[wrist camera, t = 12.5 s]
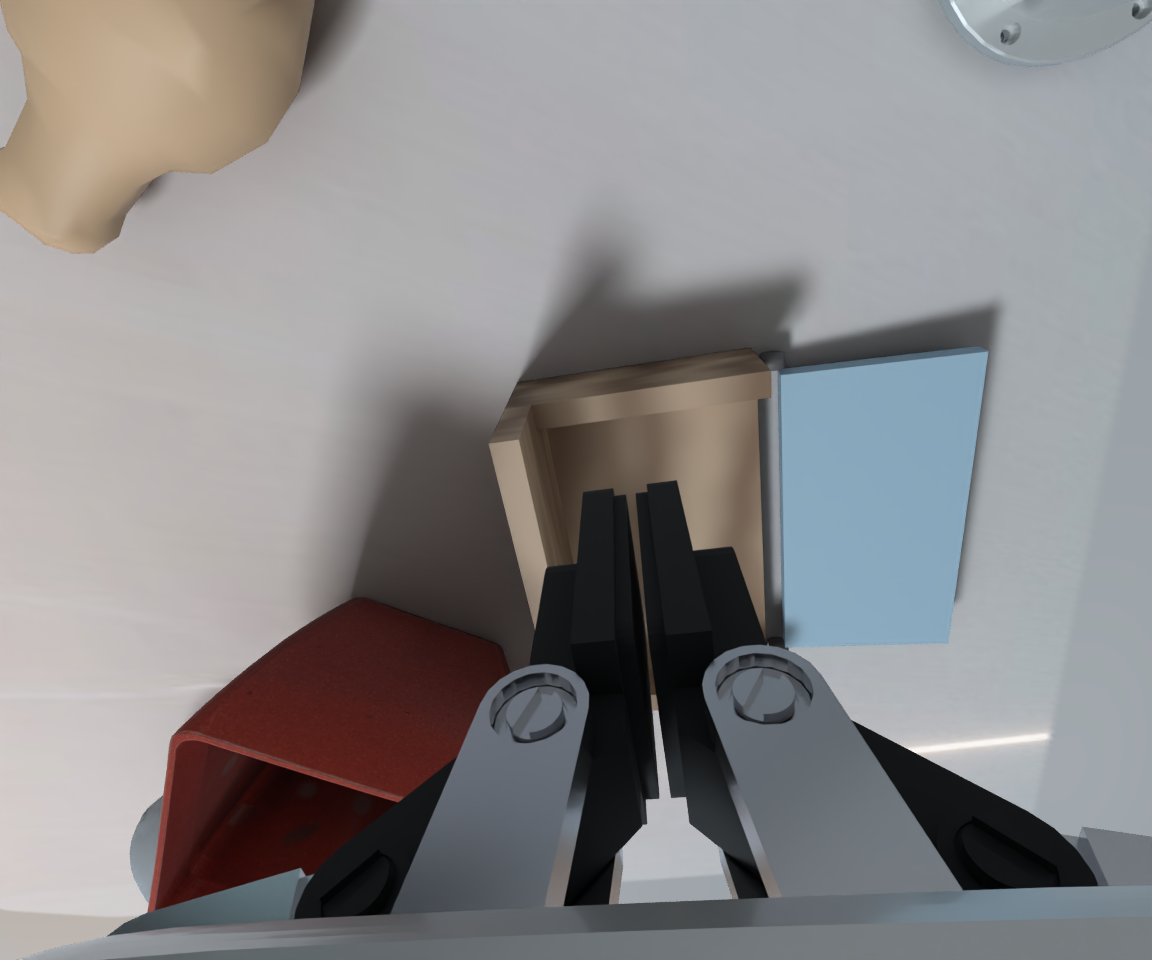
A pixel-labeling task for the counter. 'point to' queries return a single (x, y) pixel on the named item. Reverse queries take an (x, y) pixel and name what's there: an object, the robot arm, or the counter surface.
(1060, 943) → the robot arm
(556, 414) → the box
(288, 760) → the plant pot
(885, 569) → the panel
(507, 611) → the counter surface
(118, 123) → the squash
